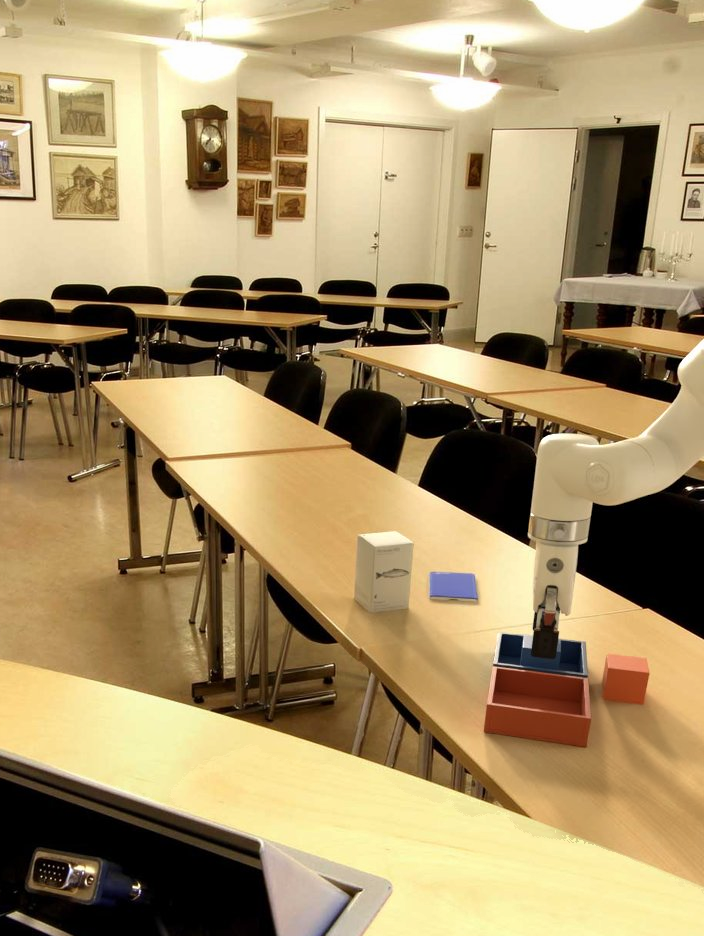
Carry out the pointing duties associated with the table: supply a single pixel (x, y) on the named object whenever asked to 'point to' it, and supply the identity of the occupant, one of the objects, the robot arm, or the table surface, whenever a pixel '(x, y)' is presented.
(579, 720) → the rust bin
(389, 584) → the white packaging box
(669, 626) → the table surface
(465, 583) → the hard drive
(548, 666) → the blue block
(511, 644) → the blue bin
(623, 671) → the rust block
